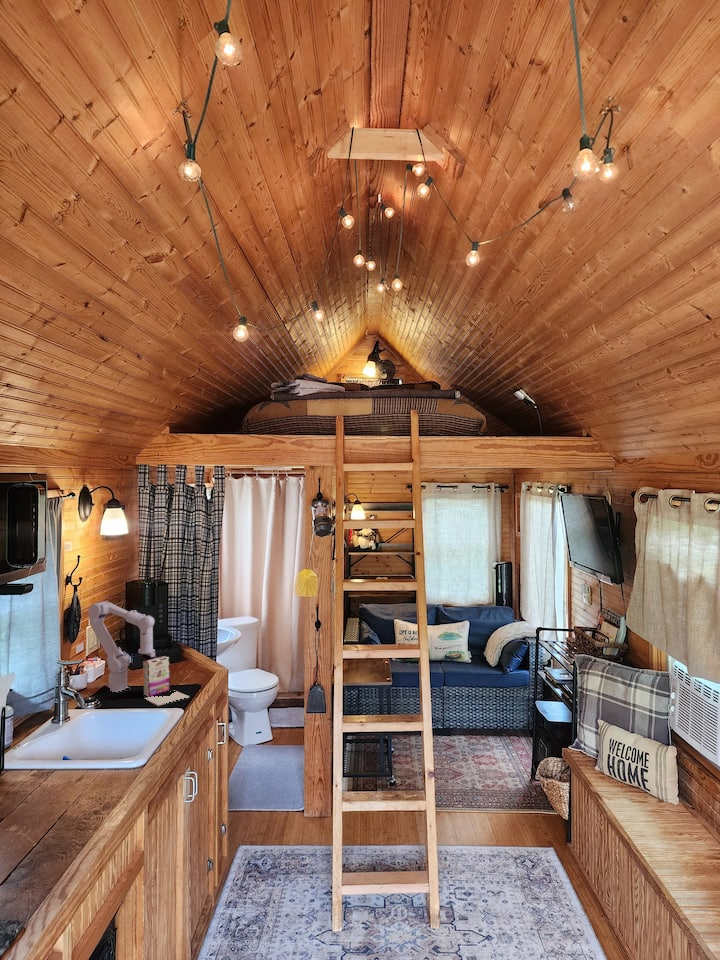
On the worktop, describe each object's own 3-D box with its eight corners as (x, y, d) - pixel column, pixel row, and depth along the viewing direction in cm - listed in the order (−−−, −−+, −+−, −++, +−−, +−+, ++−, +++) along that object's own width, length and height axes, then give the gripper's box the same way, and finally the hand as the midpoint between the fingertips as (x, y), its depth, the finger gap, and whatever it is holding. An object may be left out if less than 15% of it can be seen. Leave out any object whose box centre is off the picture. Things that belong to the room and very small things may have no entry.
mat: (144, 699, 261) (144, 698, 261) (174, 691, 272) (174, 690, 272) (157, 705, 251) (157, 704, 251) (189, 697, 262) (189, 696, 262)
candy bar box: (164, 690, 275) (164, 655, 276) (170, 692, 272) (169, 656, 273) (142, 696, 266) (142, 660, 267) (148, 698, 263) (148, 661, 264)
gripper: (161, 642, 276) (161, 670, 275) (148, 638, 286) (148, 666, 285) (146, 644, 271) (147, 673, 270) (134, 640, 281) (134, 668, 280)
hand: (146, 670), depth 277 cm, fingers closed
